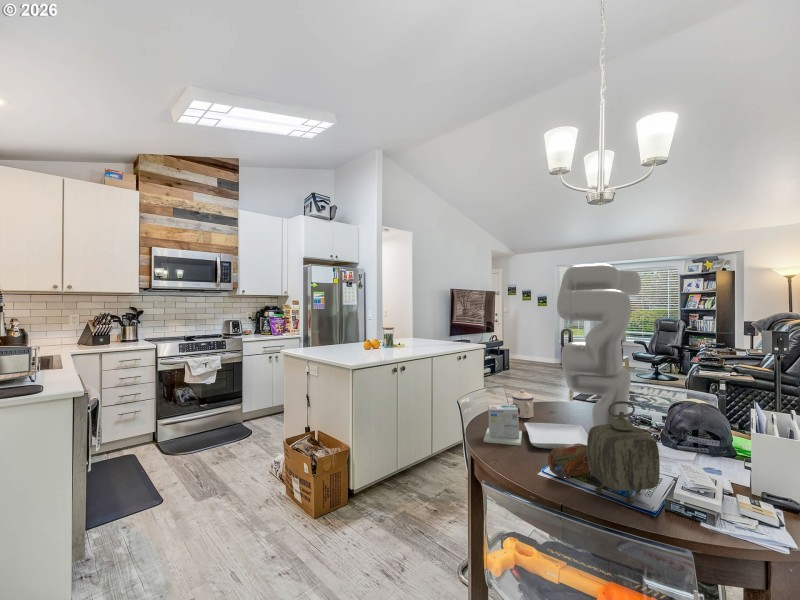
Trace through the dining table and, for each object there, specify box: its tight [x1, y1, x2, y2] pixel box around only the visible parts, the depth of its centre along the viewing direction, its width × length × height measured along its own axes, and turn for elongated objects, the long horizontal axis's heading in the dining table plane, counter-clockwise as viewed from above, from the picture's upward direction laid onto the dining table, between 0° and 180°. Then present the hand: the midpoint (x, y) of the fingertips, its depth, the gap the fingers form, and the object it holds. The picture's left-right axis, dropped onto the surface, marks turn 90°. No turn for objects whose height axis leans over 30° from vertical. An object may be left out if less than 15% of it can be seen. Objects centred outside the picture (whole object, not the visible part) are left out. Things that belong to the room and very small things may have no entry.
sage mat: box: [483, 427, 523, 446], centre depth 142 cm, size 13×13×1 cm
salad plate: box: [523, 422, 588, 450], centre depth 137 cm, size 21×21×3 cm
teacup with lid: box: [511, 389, 534, 419], centre depth 166 cm, size 12×9×12 cm
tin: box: [547, 443, 591, 479], centre depth 111 cm, size 15×3×8 cm, turn 106°
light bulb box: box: [487, 404, 520, 438], centre depth 141 cm, size 11×7×11 cm, turn 82°
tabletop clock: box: [587, 401, 661, 504], centre depth 97 cm, size 14×9×25 cm, turn 92°
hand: (614, 357), depth 134 cm, fingers open, 9 cm apart
